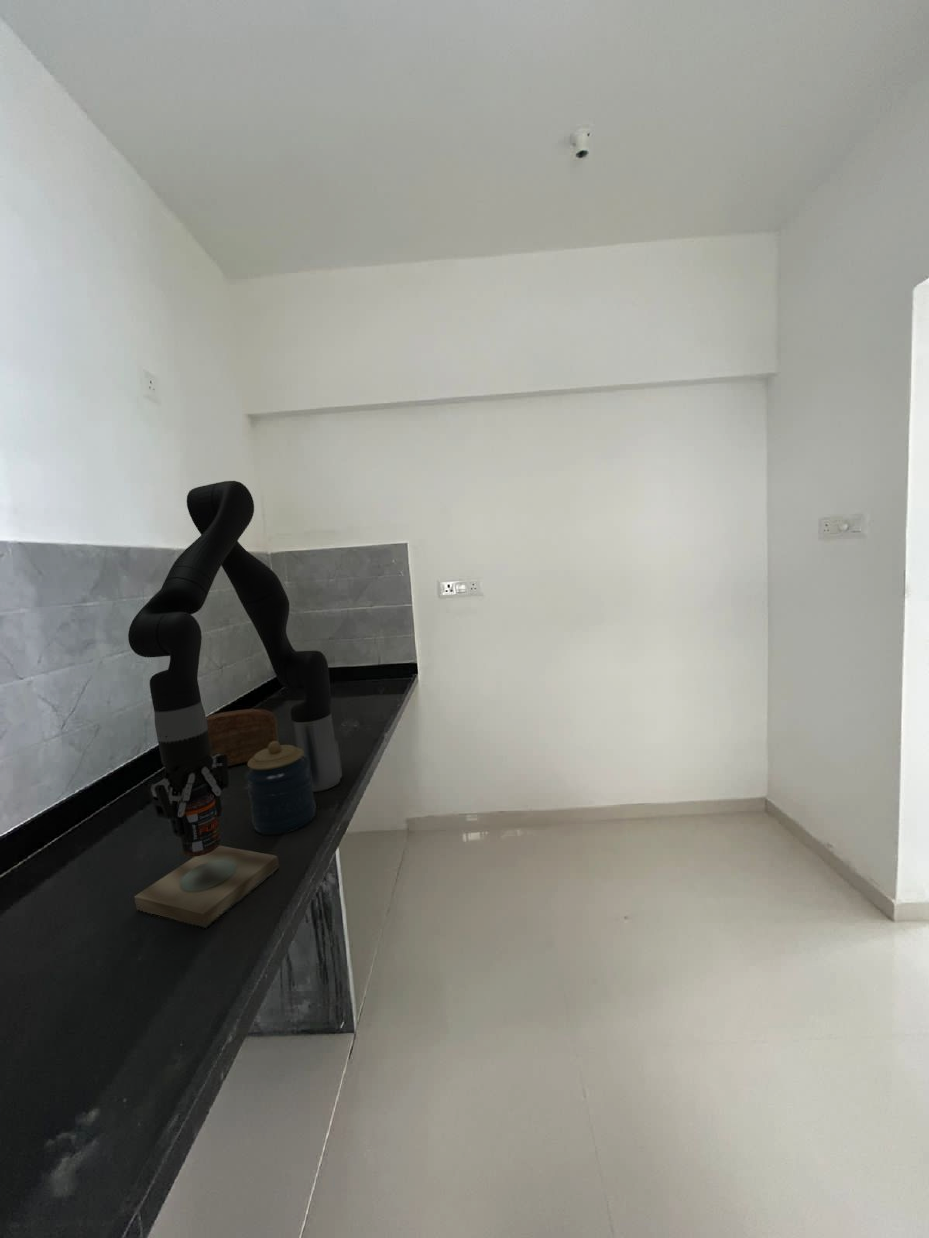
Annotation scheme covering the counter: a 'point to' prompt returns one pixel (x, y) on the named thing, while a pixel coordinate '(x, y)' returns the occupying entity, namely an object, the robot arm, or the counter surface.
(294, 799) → the canister
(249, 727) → the bread
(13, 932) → the counter surface
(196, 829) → the supplement bottle
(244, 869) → the oak board
